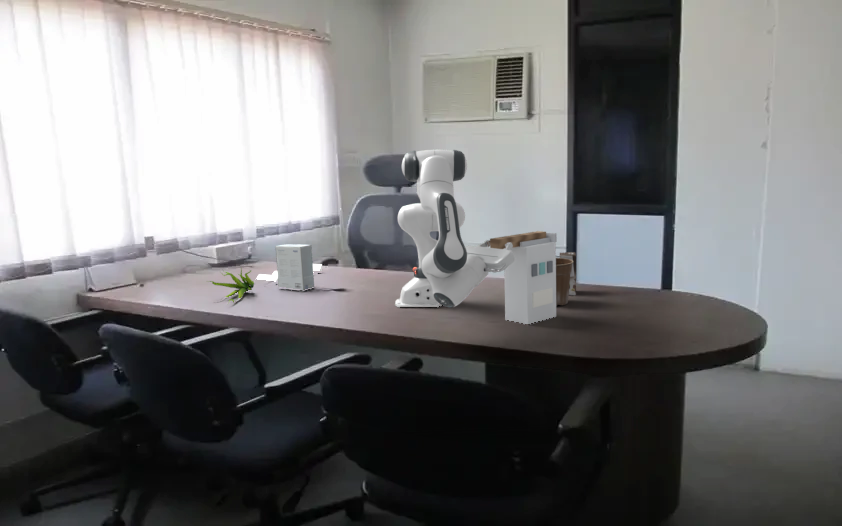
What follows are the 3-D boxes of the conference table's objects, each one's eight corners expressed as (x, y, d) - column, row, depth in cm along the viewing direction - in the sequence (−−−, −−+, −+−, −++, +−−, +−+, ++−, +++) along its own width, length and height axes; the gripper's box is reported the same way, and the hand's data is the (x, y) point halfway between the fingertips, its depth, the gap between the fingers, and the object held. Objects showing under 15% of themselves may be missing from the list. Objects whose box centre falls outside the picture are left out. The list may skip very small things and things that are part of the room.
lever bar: (498, 250, 213) (497, 239, 213) (490, 249, 216) (489, 238, 215) (546, 241, 228) (546, 231, 228) (538, 241, 231) (538, 231, 231)
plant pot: (570, 308, 241) (570, 265, 239) (526, 307, 247) (525, 264, 245) (576, 299, 256) (576, 258, 254) (534, 297, 262) (533, 257, 260)
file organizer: (253, 285, 318) (252, 274, 317) (303, 272, 347) (302, 263, 346) (273, 286, 311) (272, 276, 310) (322, 274, 340) (322, 264, 339)
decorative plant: (194, 306, 272) (191, 271, 270) (244, 292, 298) (242, 259, 296) (228, 309, 264) (224, 273, 262) (276, 294, 290) (273, 261, 288)
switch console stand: (528, 325, 221) (527, 238, 216) (505, 320, 229) (503, 236, 224) (558, 316, 231) (557, 233, 226) (534, 312, 239) (533, 231, 234)
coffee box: (576, 295, 264) (576, 255, 261) (559, 295, 265) (559, 255, 262) (575, 290, 272) (575, 251, 270) (559, 290, 274) (559, 251, 271)
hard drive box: (315, 288, 299) (312, 244, 296) (303, 292, 293) (300, 247, 289) (289, 286, 307) (286, 243, 304) (277, 289, 301) (274, 245, 298)
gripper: (494, 264, 200) (520, 237, 207) (448, 258, 216) (474, 233, 222) (502, 280, 203) (527, 253, 210) (455, 273, 219) (481, 248, 225)
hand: (499, 242), depth 216 cm, fingers open, 8 cm apart
